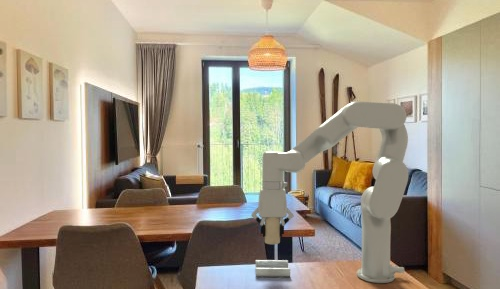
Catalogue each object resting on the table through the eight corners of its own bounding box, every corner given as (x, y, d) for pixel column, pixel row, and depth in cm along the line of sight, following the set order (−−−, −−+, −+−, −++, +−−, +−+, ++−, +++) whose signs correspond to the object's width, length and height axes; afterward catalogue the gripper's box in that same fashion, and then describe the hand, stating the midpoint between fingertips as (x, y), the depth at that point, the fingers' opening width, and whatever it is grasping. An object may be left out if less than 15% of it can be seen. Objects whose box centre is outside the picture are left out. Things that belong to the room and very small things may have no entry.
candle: (278, 245, 133) (279, 216, 132) (263, 244, 134) (263, 215, 133) (280, 240, 138) (281, 213, 138) (265, 239, 139) (266, 212, 139)
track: (287, 268, 140) (287, 260, 140) (290, 277, 131) (290, 268, 131) (255, 268, 141) (255, 260, 141) (255, 277, 132) (255, 268, 132)
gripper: (295, 184, 139) (295, 233, 139) (248, 184, 139) (248, 233, 140) (298, 187, 131) (297, 239, 132) (248, 186, 132) (248, 238, 132)
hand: (272, 235), depth 136 cm, fingers closed on candle, 5 cm apart
